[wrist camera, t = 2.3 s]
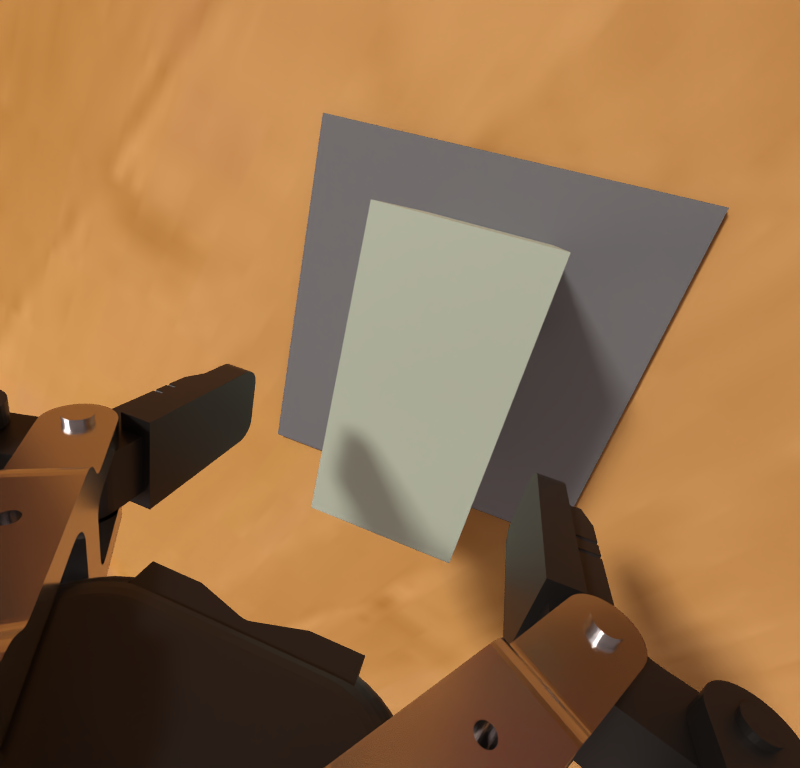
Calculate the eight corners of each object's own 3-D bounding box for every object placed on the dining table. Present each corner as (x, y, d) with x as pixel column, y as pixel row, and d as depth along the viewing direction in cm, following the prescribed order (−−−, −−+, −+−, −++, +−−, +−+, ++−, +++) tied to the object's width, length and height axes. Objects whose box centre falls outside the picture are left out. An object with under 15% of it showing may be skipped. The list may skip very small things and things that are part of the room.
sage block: (551, 244, 19) (570, 252, 11) (471, 461, 23) (449, 563, 16) (426, 211, 20) (370, 199, 12) (373, 425, 24) (311, 507, 17)
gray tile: (725, 208, 17) (729, 207, 17) (556, 536, 24) (557, 540, 24) (325, 114, 20) (322, 112, 19) (280, 432, 27) (277, 434, 27)
